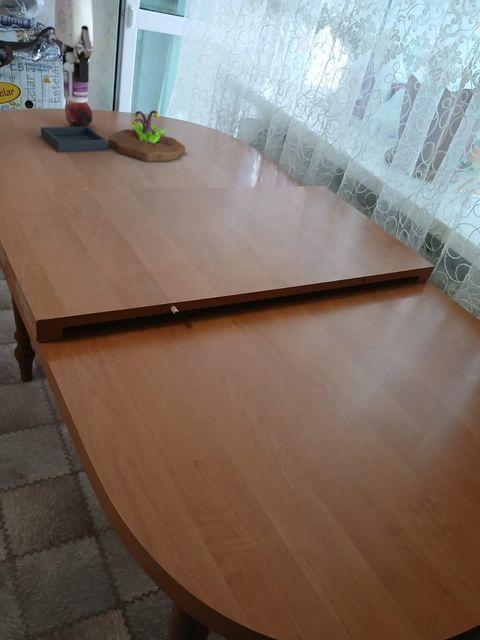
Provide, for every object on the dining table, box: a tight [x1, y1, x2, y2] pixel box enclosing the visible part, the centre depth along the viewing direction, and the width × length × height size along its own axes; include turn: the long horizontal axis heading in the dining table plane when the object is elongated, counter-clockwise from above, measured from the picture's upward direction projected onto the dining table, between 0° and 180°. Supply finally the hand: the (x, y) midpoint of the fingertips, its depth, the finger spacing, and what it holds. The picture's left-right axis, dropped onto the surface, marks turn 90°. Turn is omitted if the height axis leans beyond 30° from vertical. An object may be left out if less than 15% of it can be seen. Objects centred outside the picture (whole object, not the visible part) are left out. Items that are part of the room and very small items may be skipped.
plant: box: [107, 110, 186, 162], centre depth 155 cm, size 20×20×11 cm
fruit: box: [64, 101, 93, 127], centre depth 159 cm, size 8×8×8 cm
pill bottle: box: [62, 52, 89, 103], centre depth 124 cm, size 5×5×10 cm
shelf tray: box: [40, 126, 108, 153], centre depth 150 cm, size 14×12×3 cm
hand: (75, 77), depth 124 cm, fingers closed on pill bottle, 5 cm apart
